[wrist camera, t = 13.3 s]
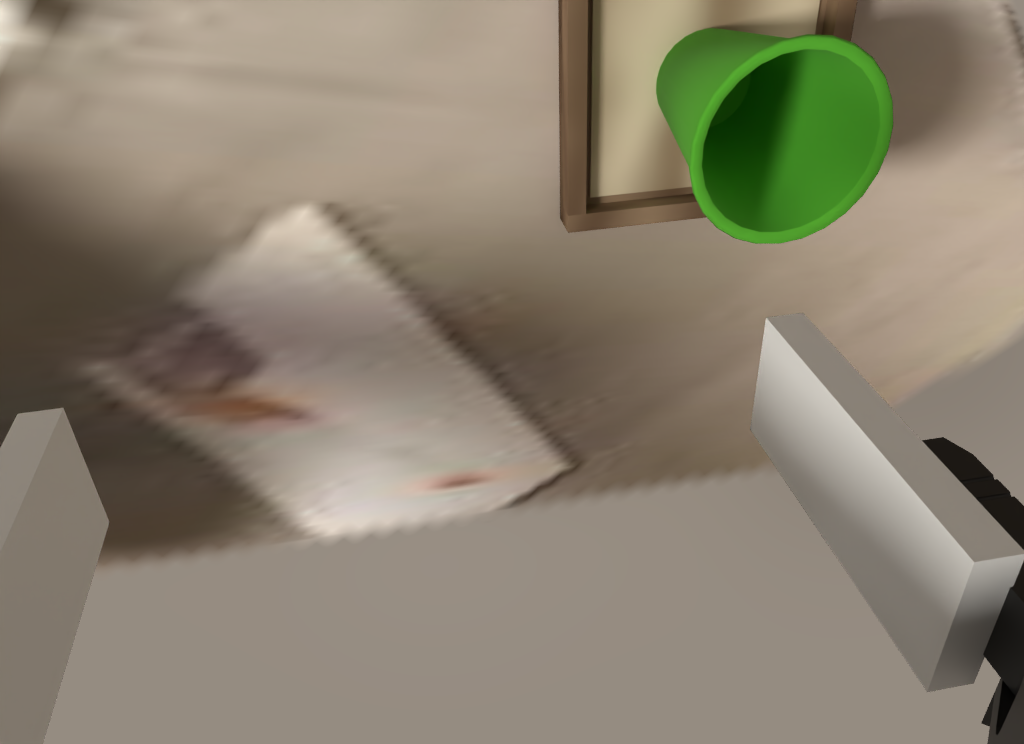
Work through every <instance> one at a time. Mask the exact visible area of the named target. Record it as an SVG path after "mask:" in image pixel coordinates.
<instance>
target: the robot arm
mask: <svg viewBox="0 0 1024 744" xmlns="http://www.w3.org/2000/svg"><path fill="white" fill-rule="evenodd" d="M750 430H751V431H752V433H753V434H754V436H755V437H756V439H757V440H758V442H759V443H760V445H761V446H762V448H763V449H764V451H765V452H766V454H767V455H768V457H769V458H770V460H771V461H772V463H773V464H774V466H775V467H776V469H777V470H778V471H779V473H780V474H781V476H782V477H783V479H784V480H785V482H786V483H787V485H788V486H789V488H790V489H791V491H792V492H793V494H794V495H795V497H796V498H797V500H798V501H799V503H800V504H801V506H802V507H803V509H804V510H805V512H806V513H807V514H808V516H809V517H810V519H811V520H812V522H813V523H814V525H815V526H816V528H817V529H818V531H819V532H820V534H821V535H822V537H823V538H824V540H825V541H826V543H827V544H828V546H829V547H830V549H831V550H832V552H833V553H834V555H835V556H836V558H837V559H838V561H839V562H840V564H841V565H842V566H843V568H844V569H845V571H846V572H847V574H848V575H849V577H850V578H851V580H852V581H853V583H854V584H855V586H856V587H857V589H858V590H859V592H860V593H861V595H862V596H863V598H864V599H865V600H866V602H867V604H868V605H869V607H870V608H871V610H872V611H873V613H874V614H875V615H876V617H877V618H878V620H879V621H880V623H881V624H882V626H883V627H884V629H885V630H886V632H887V633H888V635H889V636H890V638H891V639H892V641H893V642H894V644H895V645H896V647H897V648H898V650H899V651H900V653H901V654H902V656H903V657H904V658H905V660H906V661H907V663H908V664H909V666H910V667H911V669H912V670H913V672H914V673H915V675H916V676H917V678H918V679H919V681H920V682H921V684H922V685H923V687H924V688H925V690H926V691H927V692H930V691H936V690H941V689H946V688H951V687H957V686H962V685H967V684H973V683H974V681H975V679H976V676H977V674H978V672H979V669H980V667H981V664H982V662H983V659H984V657H985V658H986V659H987V660H988V661H989V663H990V664H991V665H992V667H993V668H994V669H995V670H996V672H997V673H998V675H999V676H1000V677H1001V679H1000V681H999V684H998V686H997V688H996V691H995V693H994V695H993V698H992V700H991V702H990V704H989V707H988V709H987V712H986V714H985V716H984V718H983V721H982V724H985V725H987V726H990V730H989V737H988V744H1024V506H1023V505H1022V504H1021V503H1020V502H1019V501H1018V500H1017V499H1016V498H1015V497H1011V495H1010V492H1009V490H1007V488H1006V487H1004V486H1003V484H1002V483H1001V482H999V480H994V477H993V474H992V473H991V472H990V471H989V470H988V469H987V468H986V467H985V466H984V465H983V464H982V463H981V462H980V461H979V460H978V459H977V458H976V457H975V456H974V455H973V454H971V453H970V452H968V451H966V450H964V449H963V448H961V447H959V446H957V445H956V444H954V443H952V442H950V441H949V440H947V439H945V438H944V437H942V438H936V439H929V440H921V439H920V438H919V437H918V436H917V435H916V434H915V433H914V432H913V431H912V430H911V428H910V427H909V426H908V425H907V424H906V423H905V422H904V421H903V420H902V419H901V418H900V417H899V416H898V414H897V413H896V412H895V411H894V410H893V409H892V408H891V407H890V406H889V405H888V404H887V403H886V402H885V400H884V399H883V398H882V397H881V396H880V395H879V394H878V393H877V392H876V391H875V390H874V389H873V388H872V386H871V385H870V384H869V383H868V382H867V381H866V380H865V379H864V378H863V377H862V376H861V375H860V374H859V372H858V371H857V370H856V369H855V368H854V367H853V366H852V365H851V364H850V363H849V362H848V361H847V360H846V359H845V357H844V356H843V355H842V354H841V353H840V352H839V351H838V350H837V349H836V348H835V347H834V346H833V345H832V343H831V342H830V341H829V340H828V339H827V338H826V337H825V336H824V335H823V334H822V333H821V332H820V331H819V329H818V328H817V327H816V326H815V325H814V324H813V323H812V322H811V321H810V320H809V319H808V318H807V317H806V316H805V314H804V313H797V314H790V315H782V316H774V317H766V322H765V329H764V336H763V343H762V350H761V357H760V364H759V371H758V378H757V385H756V392H755V399H754V406H753V413H752V420H751V427H750ZM108 526H109V520H108V517H107V515H106V512H105V510H104V507H103V505H102V502H101V500H100V498H99V495H98V493H97V490H96V488H95V485H94V483H93V480H92V478H91V475H90V473H89V470H88V468H87V465H86V463H85V460H84V458H83V455H82V453H81V450H80V448H79V446H78V443H77V441H76V438H75V436H74V433H73V431H72V428H71V426H70V423H69V421H68V418H67V416H66V413H65V411H64V408H58V409H50V410H42V411H35V412H27V413H19V414H17V416H16V418H15V420H14V422H13V424H12V426H11V428H10V430H9V432H8V434H7V436H6V438H5V440H4V442H3V444H2V446H1V448H0V744H43V742H44V739H45V735H46V732H47V728H48V725H49V722H50V718H51V715H52V712H53V708H54V705H55V702H56V699H57V695H58V692H59V689H60V685H61V682H62V679H63V675H64V672H65V669H66V665H67V662H68V659H69V655H70V652H71V648H72V645H73V642H74V639H75V635H76V632H77V629H78V625H79V622H80V619H81V615H82V612H83V609H84V605H85V602H86V599H87V595H88V592H89V589H90V585H91V582H92V579H93V576H94V572H95V569H96V566H97V562H98V559H99V556H100V552H101V549H102V546H103V542H104V539H105V536H106V532H107V529H108Z"/></svg>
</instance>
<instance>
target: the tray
mask: <svg viewBox="0 0 1024 744" xmlns="http://www.w3.org/2000/svg"><path fill="white" fill-rule="evenodd" d="M856 5H857V0H559V115H560V219H561V220H562V222H563V224H564V226H565V228H566V229H567V231H568V233H570V232H579V231H588V230H597V229H606V228H615V227H623V226H632V225H641V224H650V223H659V222H668V221H677V220H686V219H695V218H704V217H706V216H705V214H704V213H703V212H702V210H701V208H700V206H699V204H698V202H697V200H696V198H695V196H694V194H693V190H692V185H691V179H690V173H689V166H688V164H687V162H686V160H685V158H684V156H683V154H682V152H681V150H680V148H679V146H678V144H677V142H676V140H675V138H674V135H673V133H672V131H671V129H670V127H669V125H668V123H667V121H666V119H665V117H664V115H663V113H662V111H661V109H660V107H659V104H658V100H657V95H656V82H657V76H658V73H659V69H660V66H661V64H662V62H663V61H664V59H665V57H666V55H667V54H668V52H669V51H670V50H671V49H672V48H673V46H674V45H675V44H676V43H678V42H679V41H680V40H681V39H683V38H684V37H685V36H687V35H689V34H691V33H693V32H695V31H698V30H703V29H707V28H716V29H726V30H733V31H741V32H748V33H755V34H762V35H770V36H777V37H784V38H792V37H797V36H801V35H806V34H814V35H833V36H836V37H838V38H841V39H844V40H847V41H851V35H852V29H853V23H854V17H855V11H856Z"/></svg>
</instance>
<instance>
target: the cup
mask: <svg viewBox="0 0 1024 744" xmlns="http://www.w3.org/2000/svg"><path fill="white" fill-rule="evenodd" d="M656 95H657V100H658V104H659V107H660V109H661V111H662V113H663V115H664V117H665V119H666V121H667V123H668V125H669V127H670V129H671V131H672V133H673V135H674V138H675V140H676V142H677V144H678V146H679V148H680V150H681V152H682V154H683V156H684V158H685V160H686V162H687V164H688V166H689V173H690V179H691V185H692V190H693V194H694V196H695V198H696V200H697V202H698V204H699V206H700V208H701V210H702V212H703V213H704V214H705V216H706V217H707V218H708V219H709V220H710V221H711V222H712V223H713V224H714V225H715V226H716V228H718V229H720V230H721V231H723V232H725V233H727V234H728V235H730V236H732V237H733V238H736V239H740V240H744V241H747V242H751V243H784V242H788V241H792V240H797V239H801V238H804V237H806V236H808V235H811V234H813V233H815V232H817V231H819V230H821V229H824V228H825V227H827V226H828V225H830V224H831V223H832V222H834V221H835V220H837V219H838V218H839V217H841V216H842V215H844V214H845V213H846V212H847V211H848V210H849V209H850V208H851V207H852V206H853V205H854V204H855V203H856V202H857V201H858V200H859V199H860V198H861V197H862V196H863V195H864V193H865V192H866V190H867V189H868V187H869V186H870V184H871V183H872V181H873V180H874V178H875V177H876V175H877V174H878V172H879V170H880V167H881V165H882V163H883V160H884V158H885V156H886V153H887V151H888V147H889V143H890V138H891V133H892V128H893V104H892V97H891V94H890V91H889V87H888V84H887V80H886V77H885V75H884V74H883V72H882V71H881V69H880V68H879V66H878V65H877V63H876V62H875V60H874V59H873V57H872V56H870V55H869V54H868V53H866V52H865V51H864V50H863V49H861V48H860V47H859V46H858V45H856V44H855V43H852V42H850V41H847V40H844V39H841V38H838V37H836V36H833V35H814V34H806V35H801V36H797V37H792V38H784V37H777V36H770V35H762V34H755V33H748V32H741V31H733V30H726V29H716V28H707V29H703V30H698V31H695V32H693V33H691V34H689V35H687V36H685V37H684V38H683V39H681V40H680V41H679V42H678V43H676V44H675V45H674V46H673V48H672V49H671V50H670V51H669V52H668V54H667V55H666V57H665V59H664V61H663V62H662V64H661V66H660V69H659V73H658V76H657V82H656Z"/></svg>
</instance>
